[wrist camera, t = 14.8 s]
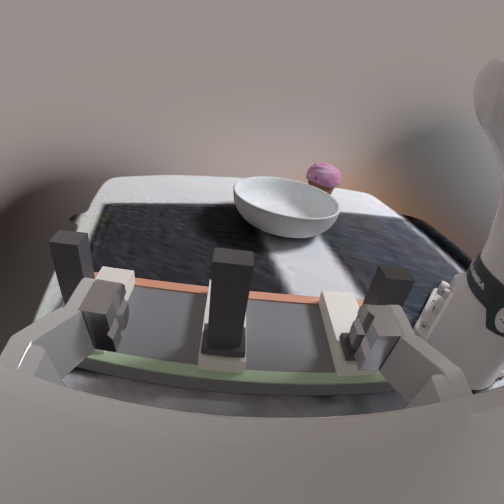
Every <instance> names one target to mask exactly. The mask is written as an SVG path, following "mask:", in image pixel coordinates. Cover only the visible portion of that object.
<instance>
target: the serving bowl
mask: <svg viewBox="0 0 504 504" xmlns="http://www.w3.org/2000/svg"><path fill="white" fill-rule="evenodd" d="M233 191H234V201H235V205H236V207H237V209H238V211H239V213H240V214H241V216H242V217H243V218H244V219H245V220H246V221H247V222H248V223H250V224H251V225H253V226H254V227H256V228H258V229H260V230H262V231H264V232H267V233H270V234H273V235H277V236H281V237H288V238H308V237H313V236H316V235H319V234H321V233H323V232H325V231H326V230H328V229H329V228H330V227H331V226H332V225H333V224H334V222H335V221H336V219H337V217H338V215H339V213H340V205H339V203H338V202H337V201H336V200H335V199H334V198H333V197H332V196H331V195H329V194H328V193H326V192H324V191H323V190H321V189H318V188H316V187H314V186H311V185H309V184H306V183H303V182H299V181H296V180H291V179H286V178H279V177H269V176H267V177H266V176H262V177H250V178H245V179H242V180H240V181H238V182H237V183H236V184H235V185H234V189H233Z"/></svg>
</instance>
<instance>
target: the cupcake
mask: <svg viewBox="0 0 504 504" xmlns="http://www.w3.org/2000/svg"><path fill="white" fill-rule="evenodd" d="M306 178H307V179H308V183H309V185H311V186H314V187H316V188H318V189H321V190H323V191H324V192H326V193H328V194H329V195H331V193H332V191H333V189H334V188H335V187H336V186H338V185H339V184H340V179H341V175H340V171H339V170H338V169H337V168H335V167H333V166H332V165H329V164H327V163H322V162H317V163H315V164H314V165H313V166H311V167H310V168H309V170H308V172H307V175H306Z"/></svg>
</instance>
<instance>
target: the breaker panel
mask: <svg viewBox="0 0 504 504" xmlns="http://www.w3.org/2000/svg"><path fill="white" fill-rule="evenodd" d="M94 275H95V279H99V280H105V281H112V282H118V283H123V284H124V285H125V289H126V294H125V297H124V299H125V300H126V301H127V302H128V305H129V318H128V323H127V326H126V329H124V330H123V331H121V336H122V340H121V342H120V345H119V348H118V350H117V353H116V352H110V351H104V350H98V349H95V350H94V351H93V352H92V353H91V354H90V355H89V356H87V357H86V358H85V359H84V360H83V361H82V362H81V363H80V364H78V365H77V366H76V367H79V368H83V369H87V370H91V371H95V372H99V373H103V374H108V375H112V376H117V377H122V378H127V379H132V380H137V381H143V382H149V383H155V384H161V385H167V386H174V387H181V388H189V389H197V390H206V391H216V392H227V393H240V394H256V395H282V396H328V395H353V394H369V393H382V392H393V391H396V390H395V389H394V388H393V386H392V385H391V384H390V383H389V382H388V381H387V380H386V379H385V377H384V376H383V375H382V374H381V373H380V372H379V370H358V367H357V363H356V361H346V360H345V357H344V353H343V349H342V346H341V342H340V339H339V337H340V335H341V333H349V332H350V328H351V326H352V323H353V321H355V319H356V317H357V315H358V313H357V312H358V310H359V308H360V306H361V305H362V304H363V301H364V300H356V298H355V295H354V293H346V292H333V291H322V293H321V296H320V297H311V296H299V295H287V294H276V293H265V292H254V291H250V292H249V297H248V303H247V309H246V315H245V321H244V327H246V352H245V358H242V357H230V356H220V355H210V354H201V345H202V337H203V330H204V323H207V324H208V321H209V305H210V290H211V280H210V283H209V287H206V286H197V285H189V284H180V283H172V282H164V281H156V280H148V279H141V278H135V276H134V271H132V270H125V269H117V268H110V267H102V268H101V270H100V271H99V273H98V272H94ZM60 307H65V303H64V301H63V303H62V304H61V306H60ZM60 307H59V308H60Z"/></svg>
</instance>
